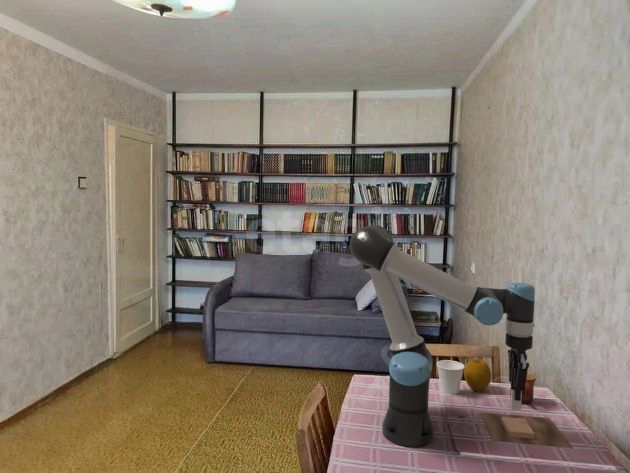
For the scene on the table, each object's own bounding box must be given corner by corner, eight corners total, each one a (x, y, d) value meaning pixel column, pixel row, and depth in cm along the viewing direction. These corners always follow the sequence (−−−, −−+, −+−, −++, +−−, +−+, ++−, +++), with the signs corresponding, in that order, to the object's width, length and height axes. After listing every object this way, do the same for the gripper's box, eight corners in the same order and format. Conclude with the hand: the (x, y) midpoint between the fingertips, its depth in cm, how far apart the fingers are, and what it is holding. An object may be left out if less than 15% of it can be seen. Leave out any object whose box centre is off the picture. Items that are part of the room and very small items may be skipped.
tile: (501, 422, 138) (509, 437, 129) (501, 416, 138) (509, 431, 129) (524, 424, 137) (534, 439, 128) (524, 418, 137) (534, 433, 128)
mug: (505, 396, 160) (506, 369, 159) (531, 399, 158) (532, 371, 158) (513, 411, 148) (514, 382, 148) (541, 414, 147) (542, 384, 146)
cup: (431, 388, 166) (432, 360, 165) (456, 387, 167) (457, 359, 166) (441, 400, 156) (442, 370, 156) (468, 399, 157) (469, 369, 157)
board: (492, 444, 127) (492, 440, 127) (478, 415, 145) (478, 412, 145) (573, 452, 124) (573, 448, 124) (549, 421, 142) (549, 418, 142)
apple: (471, 382, 173) (472, 353, 172) (495, 390, 166) (496, 359, 165) (458, 388, 166) (459, 358, 166) (483, 397, 159) (484, 365, 158)
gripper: (539, 341, 127) (535, 420, 128) (525, 328, 139) (521, 400, 141) (512, 339, 128) (508, 417, 129) (500, 327, 141) (497, 398, 142)
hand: (515, 408), depth 135 cm, fingers closed
